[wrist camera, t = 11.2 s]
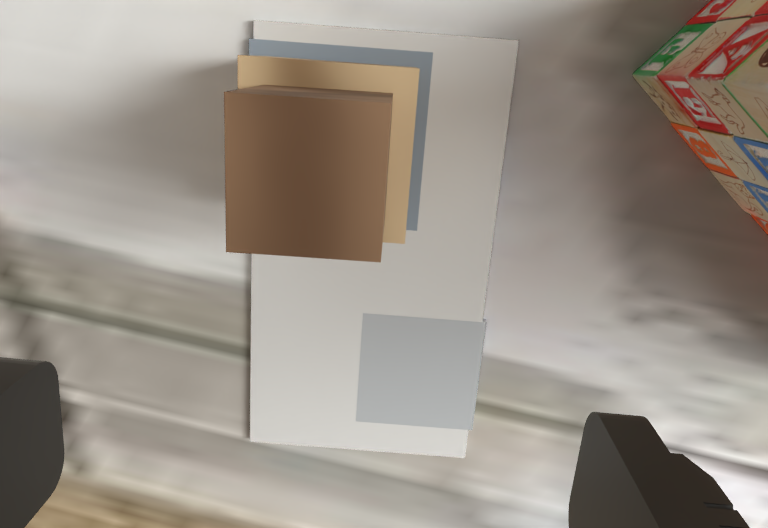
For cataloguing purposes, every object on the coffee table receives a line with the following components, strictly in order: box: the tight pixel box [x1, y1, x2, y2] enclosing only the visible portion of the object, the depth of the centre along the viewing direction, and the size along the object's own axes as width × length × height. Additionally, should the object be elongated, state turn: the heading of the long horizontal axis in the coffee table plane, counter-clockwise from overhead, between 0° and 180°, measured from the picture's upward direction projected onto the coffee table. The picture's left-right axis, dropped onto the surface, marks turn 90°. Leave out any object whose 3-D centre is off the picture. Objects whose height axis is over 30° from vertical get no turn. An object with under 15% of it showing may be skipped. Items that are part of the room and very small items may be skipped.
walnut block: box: [224, 85, 393, 262], centre depth 23 cm, size 5×5×6 cm
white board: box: [249, 20, 519, 458], centre depth 32 cm, size 12×22×1 cm, turn 176°
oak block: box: [238, 55, 420, 244], centre depth 28 cm, size 7×7×5 cm
